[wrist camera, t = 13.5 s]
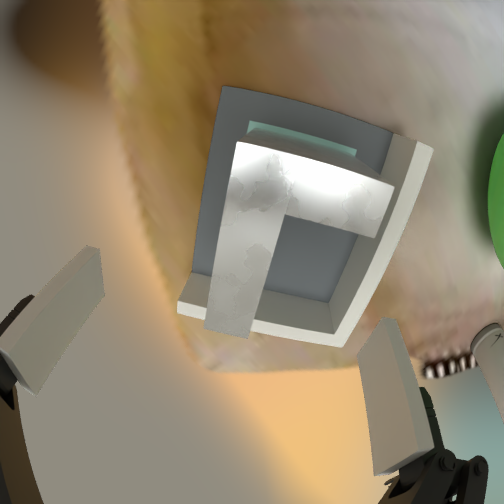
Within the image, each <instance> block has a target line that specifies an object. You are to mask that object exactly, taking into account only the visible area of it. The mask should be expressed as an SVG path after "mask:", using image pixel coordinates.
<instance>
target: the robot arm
mask: <svg viewBox="0 0 504 504" xmlns="http://www.w3.org/2000/svg"><path fill="white" fill-rule="evenodd" d="M104 296H105V293H104V286H103V277H102V268H101V258H100V250H99V249H97V248H94V247H90V246H86V247H84V248H83V249H82V250H81V251H80V252H79V253H78V254H77V255H76V256H75V257H74V258H73V259H72V260H71V261H70V262H69V263H68V264H67V265H65V267H63V268H62V270H60V271H59V272H58V273H57V274H56V275H55V276H54V277H53V278H52V279H51V280H50V281H49V283H47V285H46V286H45V287H44V288H43V289H42V290H41V291H40V292H39V293H38V294H37V295H36V296H33V295H29V296H27V297H26V298H24V299H22V300H21V301H20V302H19V303H18V304H17V305H16V306H15V308H14V310H12V311H11V312H10V313H9V314H8V316H6V318H5V319H4V320H3V321H2V322H1V324H0V504H44V503H43V501H42V498H41V495H40V492H39V489H38V487H37V484H36V481H35V478H34V474H33V471H32V467H31V464H30V460H29V457H28V452H27V448H26V444H25V439H24V435H23V429H22V424H21V418H20V411H19V404H18V396H17V389H16V386H15V383H16V382H17V380H18V381H19V383H20V384H21V386H22V387H23V388H24V389H25V390H27V391H28V392H30V393H31V394H33V395H35V396H37V395H38V393H39V391H40V390H41V388H42V386H43V384H44V383H45V381H46V380H47V378H48V376H49V375H50V373H51V372H52V370H53V368H54V367H55V365H56V364H57V362H58V361H59V359H60V358H61V356H62V355H63V353H64V352H65V350H66V349H67V347H68V346H69V344H70V343H71V341H72V340H73V338H74V337H75V336H76V334H77V332H78V331H79V330H80V328H81V327H82V326H83V324H84V323H85V321H86V320H87V318H88V317H89V316H90V315H91V313H92V312H93V310H94V309H95V307H96V306H97V305H98V304H99V302H100V301H101V300H102V298H103V297H104ZM357 358H358V363H359V369H360V374H361V379H362V386H363V392H364V398H365V404H366V411H367V418H368V425H369V433H370V441H371V450H372V460H373V471H374V476H380V475H389V474H391V473H393V472H395V471H397V470H399V475H398V476H396V477H394V478H392V479H390V480H388V481H386V482H385V485H388V484H390V483H392V484H391V485H390V486H389V488H388V490H387V491H386V493H385V494H384V496H383V497H382V499H381V500H380V502H379V503H378V504H484V499H485V493H486V487H487V479H488V464H487V461H486V460H485V458H484V457H482V456H475V457H474V458H472V459H470V460H469V461H466V460H461V459H456V457H455V455H454V454H453V453H452V452H451V451H450V450H447V449H445V448H444V445H443V441H442V437H441V433H440V429H439V425H438V421H437V418H436V417H435V416H436V414H435V411H434V409H433V403H432V400H431V397H430V395H429V394H428V392H427V391H426V389H425V388H424V387H419V386H418V382H417V379H416V376H415V373H414V370H413V367H412V364H411V361H410V358H409V355H408V352H407V349H406V346H405V343H404V340H403V338H402V335H401V332H400V330H399V327H398V324H397V322H396V319H392V318H386V317H382V318H381V320H380V321H379V323H378V325H377V326H376V328H375V329H374V331H373V332H372V334H371V335H370V337H369V338H368V340H367V341H366V343H365V344H364V346H363V347H362V349H361V350H360V352H359V353H358V355H357ZM456 494H457V497H456V500H455V501H452V497H453V496H454V495H456Z"/></svg>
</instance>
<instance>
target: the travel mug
mask: <svg viewBox="0 0 504 504" xmlns="http://www.w3.org/2000/svg"><path fill="white" fill-rule="evenodd" d="M471 351H472V353H473V355H474V357H475V359H476V361H477V363H478V365H479V367H480V369H481V371H482V373H483V375H484V377H485V379H486V382H487V384H488V386H489V388H490V391H491V393H492V395H493V398H494V400H495V402H496V405H497V407H498V410H499V412H500V415H501V418H502V420H503V423H504V332H503V330H502V328H501V327H500V325H498V324H492V325H489V326H487V327H486V328H484V329H483V330H482V331H481V332H480V333H479V334H478V335H477V336H476V337H475V339H474V340H473V342H472V345H471Z"/></svg>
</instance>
